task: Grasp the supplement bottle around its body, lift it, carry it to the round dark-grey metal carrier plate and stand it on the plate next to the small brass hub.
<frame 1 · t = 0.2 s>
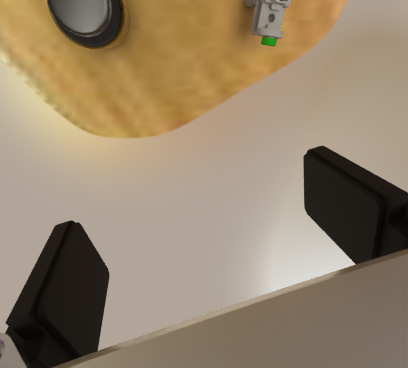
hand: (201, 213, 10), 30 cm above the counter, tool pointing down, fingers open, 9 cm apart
supplement bottle: (101, 17, 31), on the counter
mechanical component: (248, 1, 33), on the counter
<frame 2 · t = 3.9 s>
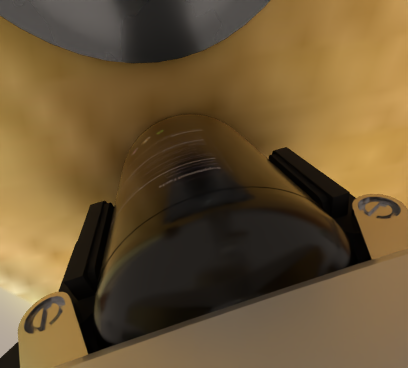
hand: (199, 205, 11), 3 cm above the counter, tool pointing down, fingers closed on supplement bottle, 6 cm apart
supplement bottle: (188, 172, 14), on the counter, touching gripper
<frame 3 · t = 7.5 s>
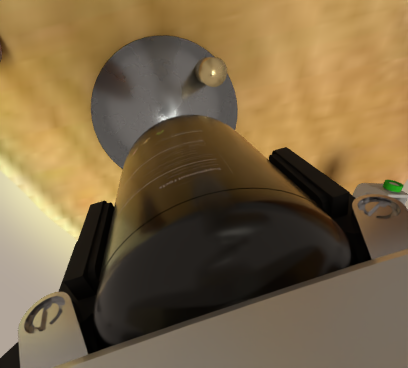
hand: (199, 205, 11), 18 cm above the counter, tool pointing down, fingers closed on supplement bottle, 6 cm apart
carrier plate: (168, 117, 27), on the counter
supplement bottle: (188, 172, 14), point 15 cm above the counter, touching gripper
mechanical component: (322, 186, 36), on the counter
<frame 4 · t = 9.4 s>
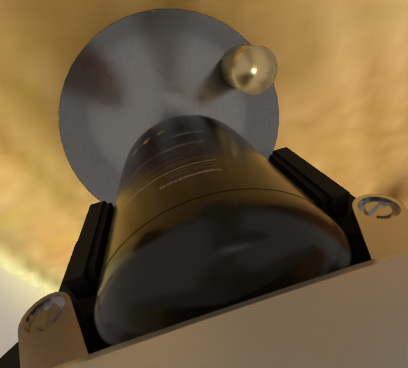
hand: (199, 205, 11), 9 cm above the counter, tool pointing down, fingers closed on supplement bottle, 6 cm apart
carrier plate: (177, 135, 18), on the counter
supplement bottle: (188, 172, 14), point 5 cm above the counter, touching gripper
when the fingers open (5 cm above the counter, at t = 11.2 s): supplement bottle stays where it is, resting on carrier plate.
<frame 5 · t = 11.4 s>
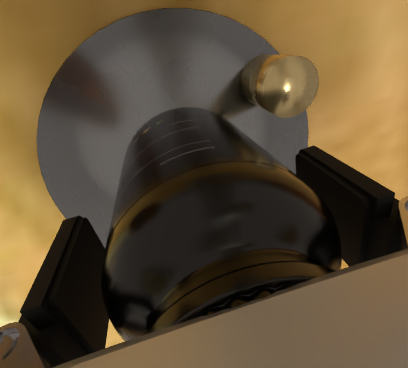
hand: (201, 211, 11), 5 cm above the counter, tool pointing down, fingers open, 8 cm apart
carrier plate: (184, 162, 15), on the counter
supplement bottle: (185, 163, 14), resting on carrier plate
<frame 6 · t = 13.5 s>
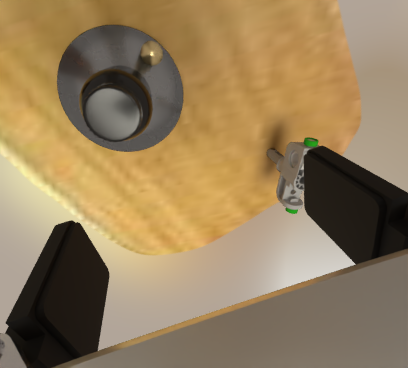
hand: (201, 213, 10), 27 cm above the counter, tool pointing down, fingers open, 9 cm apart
carrier plate: (124, 94, 32), on the counter
supplement bottle: (123, 93, 32), resting on carrier plate
mechanical component: (270, 152, 41), on the counter
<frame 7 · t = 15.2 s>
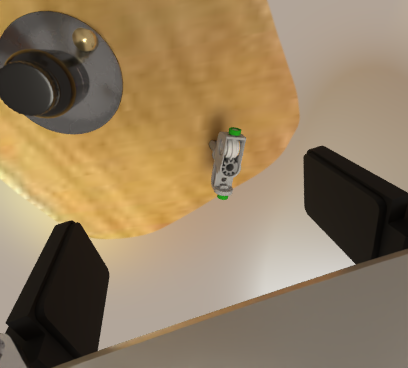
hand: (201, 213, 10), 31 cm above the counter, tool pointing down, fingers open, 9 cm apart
carrier plate: (64, 78, 34), on the counter
supplement bottle: (63, 77, 34), resting on carrier plate
mechanical component: (213, 143, 43), on the counter
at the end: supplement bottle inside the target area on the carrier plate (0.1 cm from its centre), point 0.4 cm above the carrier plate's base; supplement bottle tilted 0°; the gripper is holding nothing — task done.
